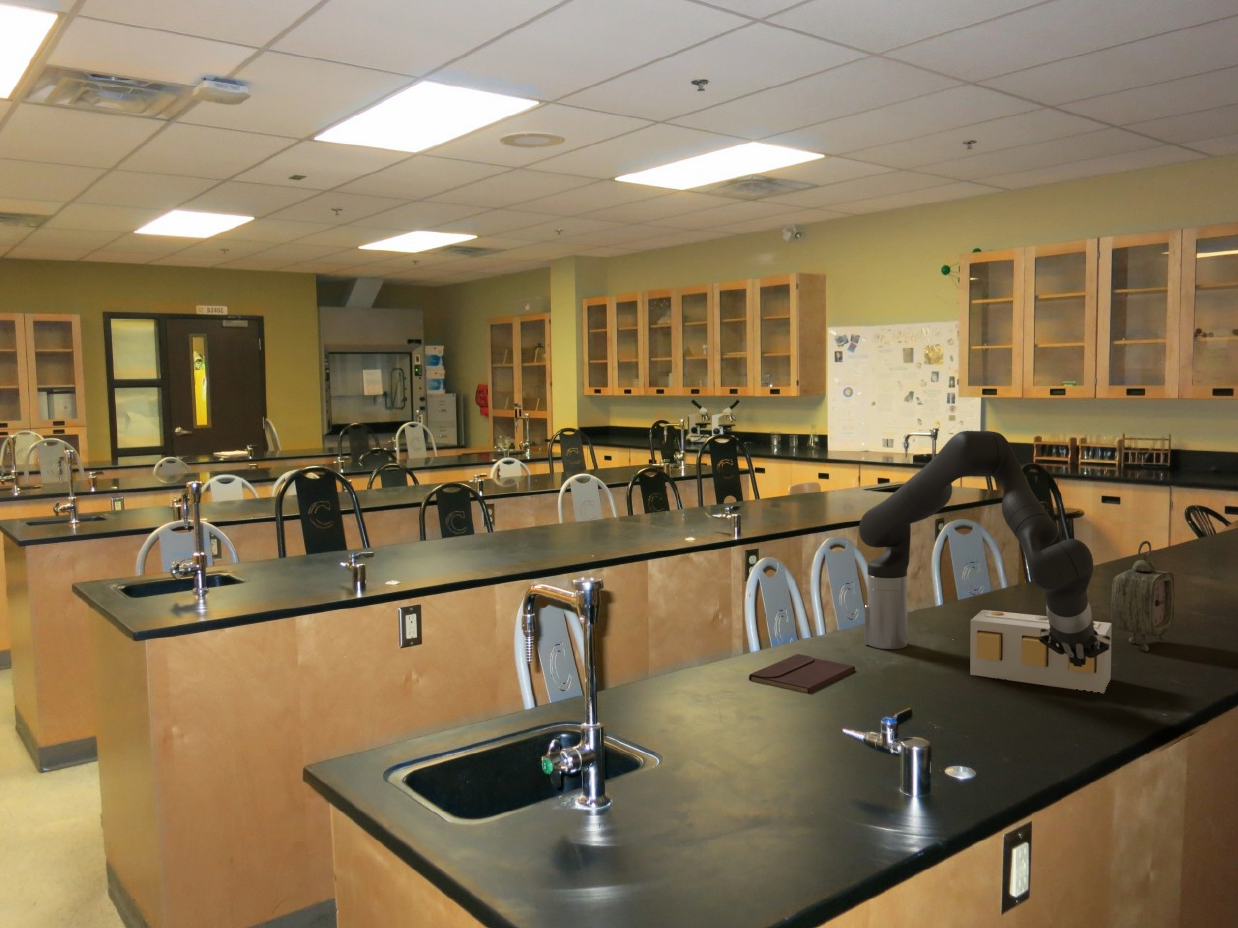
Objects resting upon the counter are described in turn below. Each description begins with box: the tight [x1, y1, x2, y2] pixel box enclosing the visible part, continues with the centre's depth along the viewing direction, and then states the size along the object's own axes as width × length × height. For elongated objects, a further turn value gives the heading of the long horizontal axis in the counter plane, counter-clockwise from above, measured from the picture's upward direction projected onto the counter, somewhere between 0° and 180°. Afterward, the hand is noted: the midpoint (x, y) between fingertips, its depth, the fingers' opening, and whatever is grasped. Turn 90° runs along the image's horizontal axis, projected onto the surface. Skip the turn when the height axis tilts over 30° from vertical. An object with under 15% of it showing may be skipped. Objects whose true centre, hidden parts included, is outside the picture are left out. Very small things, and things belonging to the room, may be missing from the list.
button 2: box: [1069, 656, 1095, 673], centre depth 194 cm, size 4×3×5 cm
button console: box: [969, 609, 1113, 694], centre depth 204 cm, size 26×11×12 cm, turn 57°
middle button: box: [1022, 636, 1047, 667], centre depth 199 cm, size 4×3×5 cm
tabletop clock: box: [1110, 540, 1175, 653], centre depth 226 cm, size 14×9×25 cm, turn 131°
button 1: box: [977, 631, 1002, 661], centre depth 204 cm, size 4×3×5 cm
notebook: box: [748, 653, 856, 694], centre depth 209 cm, size 15×20×2 cm
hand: (1078, 662), depth 190 cm, fingers closed
